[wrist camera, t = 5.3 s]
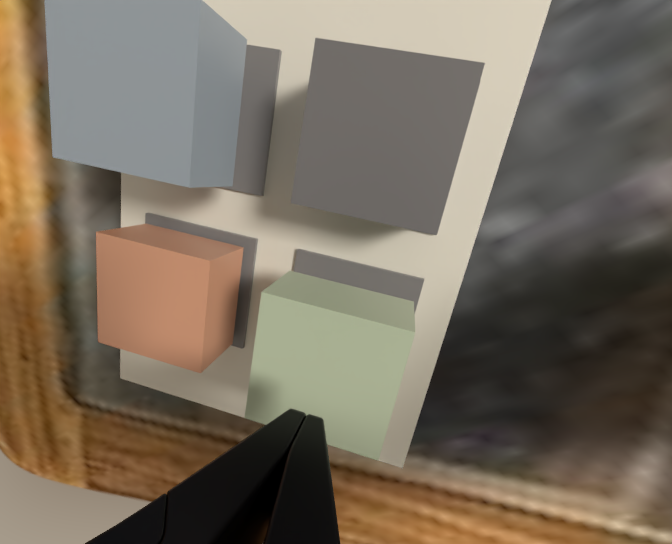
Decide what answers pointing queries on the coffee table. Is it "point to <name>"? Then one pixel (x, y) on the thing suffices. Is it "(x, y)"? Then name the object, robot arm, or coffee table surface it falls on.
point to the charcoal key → (383, 132)
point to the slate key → (145, 88)
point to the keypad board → (327, 227)
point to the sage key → (330, 358)
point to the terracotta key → (167, 294)
